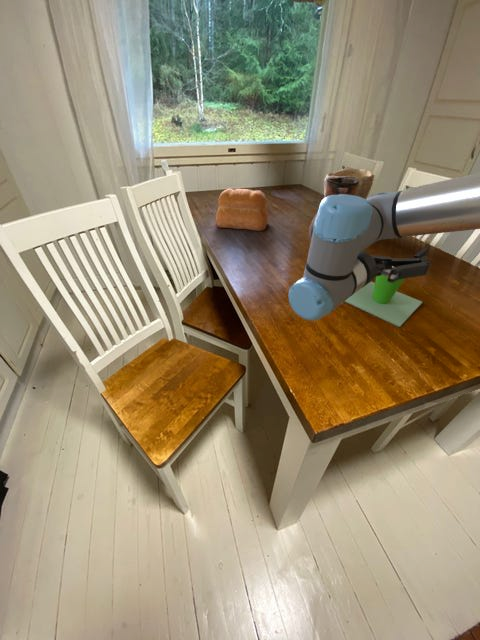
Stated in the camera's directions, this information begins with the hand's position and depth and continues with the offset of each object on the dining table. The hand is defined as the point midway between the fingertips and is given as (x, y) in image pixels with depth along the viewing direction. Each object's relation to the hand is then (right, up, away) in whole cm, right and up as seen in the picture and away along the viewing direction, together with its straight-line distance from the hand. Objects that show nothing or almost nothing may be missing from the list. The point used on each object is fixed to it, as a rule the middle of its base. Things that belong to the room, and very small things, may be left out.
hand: (394, 244), depth 65 cm
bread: (-36, +31, +78) cm, 91 cm away
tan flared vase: (+16, +33, +81) cm, 89 cm away
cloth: (+9, -12, +24) cm, 28 cm away
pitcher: (-3, +5, +46) cm, 46 cm away
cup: (+9, -12, +24) cm, 28 cm away
